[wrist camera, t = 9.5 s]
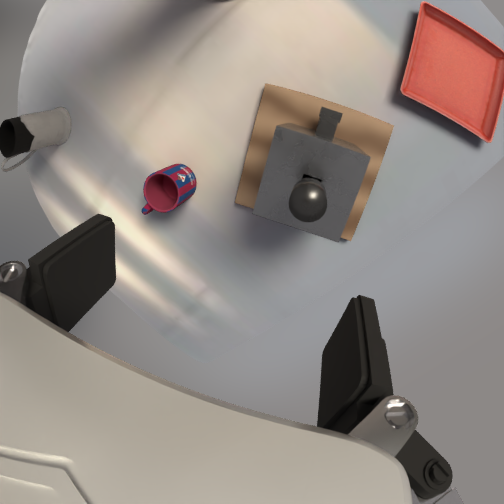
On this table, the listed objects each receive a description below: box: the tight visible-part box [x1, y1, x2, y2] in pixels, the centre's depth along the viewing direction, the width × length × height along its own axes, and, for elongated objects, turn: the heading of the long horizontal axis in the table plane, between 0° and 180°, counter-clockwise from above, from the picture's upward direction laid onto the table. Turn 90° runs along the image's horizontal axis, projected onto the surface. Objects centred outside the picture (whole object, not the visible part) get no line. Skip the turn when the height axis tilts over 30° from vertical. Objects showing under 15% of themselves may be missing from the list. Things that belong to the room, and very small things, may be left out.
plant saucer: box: [400, 1, 504, 143], centre depth 30 cm, size 18×18×3 cm
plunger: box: [289, 174, 327, 222], centre depth 33 cm, size 8×8×21 cm
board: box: [235, 84, 394, 241], centre depth 43 cm, size 20×20×2 cm
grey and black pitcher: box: [0, 107, 71, 172], centre depth 44 cm, size 9×14×15 cm, turn 132°
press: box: [252, 107, 371, 242], centre depth 35 cm, size 13×10×15 cm
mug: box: [142, 164, 196, 215], centre depth 48 cm, size 7×10×7 cm
